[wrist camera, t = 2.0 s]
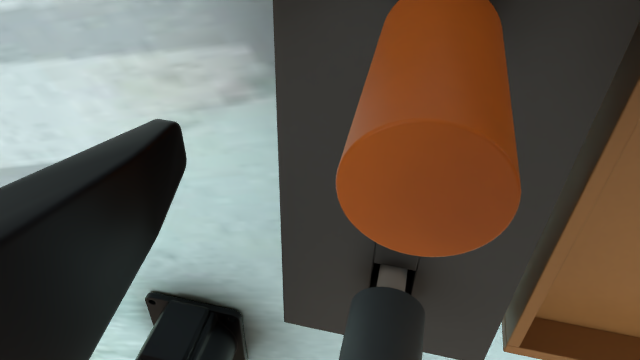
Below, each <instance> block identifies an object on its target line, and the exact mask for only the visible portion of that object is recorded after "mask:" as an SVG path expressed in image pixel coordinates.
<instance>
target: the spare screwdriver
mask: <svg viewBox="0 0 640 360" xmlns="http://www.w3.org/2000/svg"><path fill="white" fill-rule="evenodd" d="M407 271H408V269H404V268H398V267H393V266H388V265H383V264H380V269H379V275H378V281H377V287H371V288H367V289H364V290H362V291H360V292H358V293H357V294H356V295H355V296H354V297H353V299H352V301H351V306H350V310H349V315H348V320H347V324H346V329H345V333H344V338H343V343H342V347H341V352H340V357H339V360H422V350H423V337H424V325H425V311H424V308H423V306H422V305H421V303H420V302H419V301H418V300H417V299H416V298H415V297H413V296H412V295H410V294H408V293H406V292H405V287H406V279H407Z"/></svg>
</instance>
